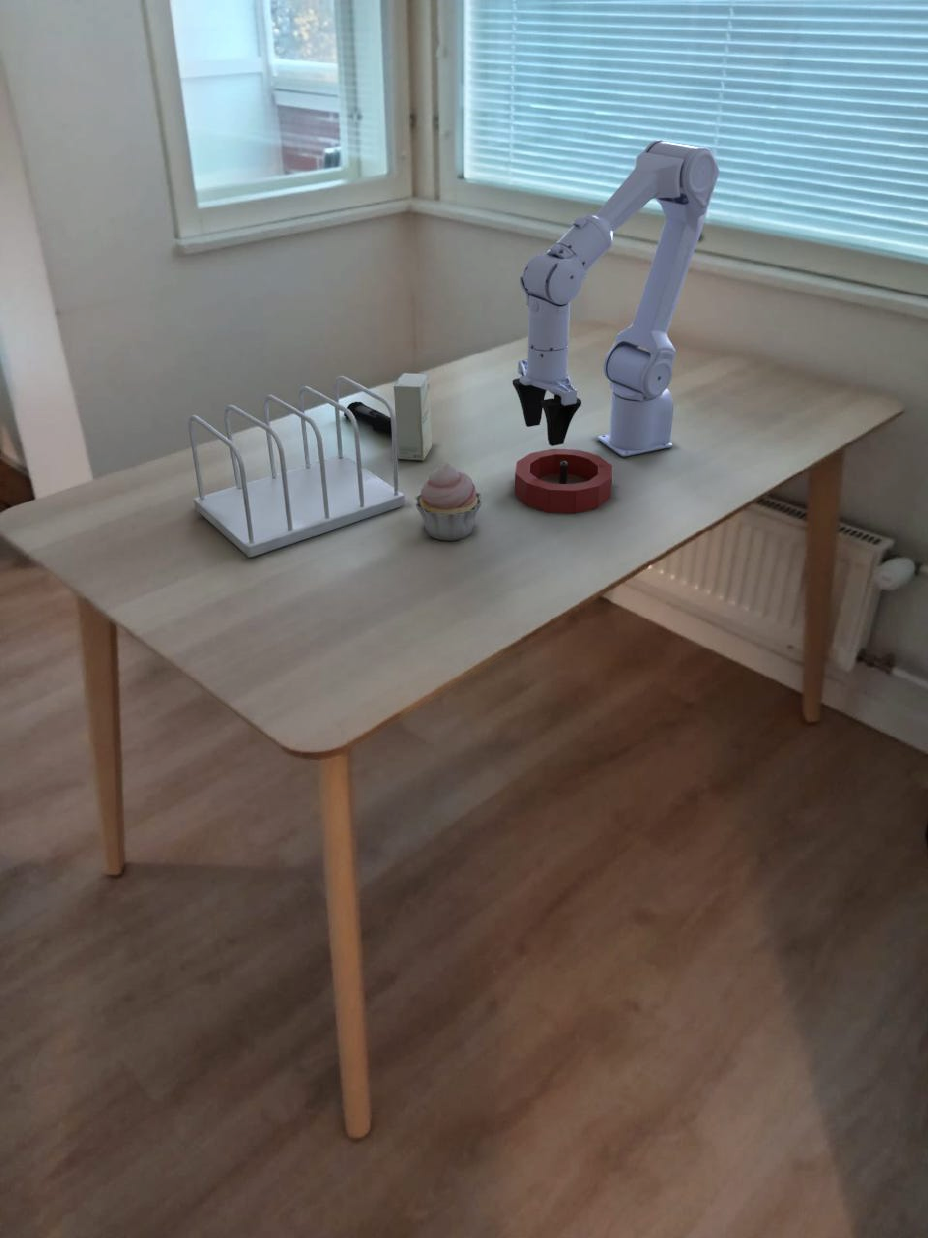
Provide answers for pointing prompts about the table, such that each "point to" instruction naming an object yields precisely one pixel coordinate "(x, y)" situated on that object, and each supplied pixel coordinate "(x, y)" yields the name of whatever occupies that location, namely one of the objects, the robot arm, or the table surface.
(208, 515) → the file sorter
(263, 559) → the table surface
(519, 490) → the ring
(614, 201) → the robot arm
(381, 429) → the electric trimmer
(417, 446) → the cosmetic box
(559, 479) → the peg stand
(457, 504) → the cupcake
